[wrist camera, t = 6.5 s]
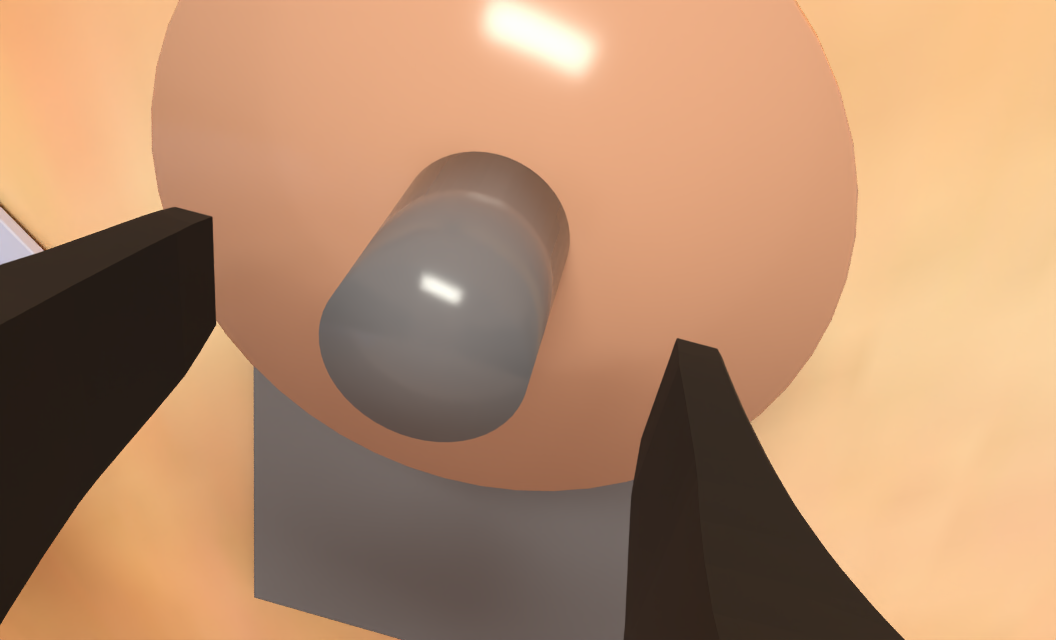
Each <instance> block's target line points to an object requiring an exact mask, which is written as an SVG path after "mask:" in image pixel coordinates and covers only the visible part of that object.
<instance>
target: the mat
mask: <svg viewBox="0 0 1056 640" xmlns="http://www.w3.org/2000/svg"><path fill="white" fill-rule="evenodd" d="M633 482H634V480H631V481H627V482H622V483H617V484H611V485H606V486H600V487H595V488H588V489H575V490H562V491H526V490H510V489H502V488H494V487H485V486H479V485H474V484H469V483H465V482H460V481H455V480H451V479H446V478H442V477H439V476H436V475H433V474H430V473H427V472H423V471H420V470H417V469H414V468H411V467H408V466H405V465H403V464H401V463H398V462H396V461H393V460H391V459H389V458H386V457H384V456H382V455H379V454H377V453H374V452H372V451H370V450H369V449H367V448H365V447H363V446H361V445H359V444H357V443H355V442H354V441H352V440H350V439H348V438H346V437H344V436H342V435H340V434H339V433H337V432H336V431H334V430H333V429H331V428H330V427H328V426H327V425H325V424H324V423H322V422H321V421H319V420H317V419H316V418H314V417H313V416H311V415H310V414H308V413H307V412H306V411H305V410H303V409H302V408H301V407H300V406H298V405H297V404H296V403H295V402H293V401H292V400H291V399H290V398H288V397H287V396H286V395H285V394H283V393H282V392H281V391H279V390H278V389H277V388H276V387H275V386H274V385H273V384H272V383H271V382H270V381H269V380H268V379H267V378H266V377H265V376H264V375H263V374H262V373H261V372H260V371H259V370H258V369H257V368H255V367H254V597H255V598H258V599H262V600H265V601H269V602H272V603H276V604H279V605H283V606H286V607H290V608H293V609H297V610H300V611H304V612H307V613H311V614H314V615H318V616H321V617H325V618H328V619H332V620H335V621H339V622H342V623H346V624H349V625H353V626H356V627H360V628H363V629H367V630H370V631H374V632H377V633H381V634H384V635H388V636H391V637H395V638H398V639H401V640H624V630H625V612H626V590H627V568H628V546H629V525H630V506H631V493H632V487H633Z"/></svg>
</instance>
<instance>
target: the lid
mask: <svg viewBox="0 0 1056 640" xmlns="http://www.w3.org/2000/svg"><path fill="white" fill-rule="evenodd" d="M151 113H152V152H153V159H154V166H155V172H156V179H157V185H158V192H159V195H160V199H161V202H162V206H163V209H168V208H171V207H178V208H182V209H186V210H189V211H193V212H197V213H201V214H205V215H209V216H212V217H213V244H214V275H215V305H216V320H217V322H218V323H219V325H220V326H221V327H222V329H223V330H224V332H225V333H226V334H227V336H228V337H229V338H230V339H231V340H232V341H233V343H234V344H235V345H236V346H237V347H238V349H239V350H240V351H241V352H242V353H243V354H244V356H245V357H246V358H247V359H248V360H249V361H250V363H251V364H252V365H253V366H254V367H255V368H257V369H258V370H259V371H260V372H261V373H262V374H263V375H264V376H265V377H266V378H267V379H268V380H269V381H270V382H271V383H272V384H273V385H274V386H275V387H276V388H277V389H278V390H279V391H281V392H282V393H283V394H285V395H286V396H287V397H288V398H290V399H291V400H292V401H293V402H295V403H296V404H297V405H298V406H300V407H301V408H302V409H303V410H305V411H306V412H307V413H308V414H310V415H311V416H313V417H314V418H316V419H317V420H319V421H321V422H322V423H324V424H325V425H327V426H328V427H330V428H331V429H333V430H334V431H336V432H337V433H339V434H340V435H342V436H344V437H346V438H348V439H350V440H352V441H354V442H355V443H357V444H359V445H361V446H363V447H365V448H367V449H369V450H370V451H372V452H374V453H377V454H379V455H382V456H384V457H386V458H389V459H391V460H393V461H396V462H398V463H401V464H403V465H405V466H408V467H411V468H414V469H417V470H420V471H423V472H427V473H430V474H433V475H436V476H439V477H442V478H446V479H451V480H455V481H460V482H465V483H469V484H474V485H479V486H485V487H494V488H502V489H510V490H526V491H562V490H575V489H588V488H595V487H600V486H606V485H611V484H617V483H622V482H627V481H631V480H634V476H635V470H636V464H637V458H638V453H639V447H640V442H641V437H642V434H643V432H644V429H645V426H646V423H647V420H648V418H649V415H650V412H651V409H652V406H653V403H654V401H655V398H656V395H657V392H658V389H659V387H660V384H661V381H662V378H663V375H664V372H665V370H666V367H667V364H668V361H669V358H670V356H671V353H672V350H673V347H674V344H675V341H676V339H677V338H679V339H683V340H687V341H690V342H694V343H698V344H702V345H706V346H709V347H713V348H717V349H718V351H719V352H720V354H721V356H722V358H723V361H724V363H725V366H726V368H727V371H728V373H729V376H730V378H731V381H732V383H733V385H734V388H735V390H736V393H737V395H738V397H739V399H740V402H741V404H742V406H743V409H744V411H745V413H746V415H747V417H748V419H749V422H751V421H752V420H753V419H755V418H756V417H757V416H759V415H760V414H761V413H762V412H763V411H764V410H765V409H766V408H767V407H768V406H769V405H770V404H771V403H772V402H773V401H774V400H775V399H776V398H777V397H778V396H779V395H780V394H781V393H782V392H783V391H784V390H785V389H786V388H787V387H788V386H789V385H790V383H791V382H792V381H793V379H794V378H795V377H796V375H797V374H798V373H799V371H800V370H801V369H802V368H803V366H804V365H805V364H806V362H807V361H808V360H809V358H810V357H811V356H812V354H813V352H814V350H815V349H816V347H817V345H818V343H819V341H820V340H821V338H822V336H823V334H824V332H825V331H826V329H827V327H828V325H829V323H830V322H831V320H832V317H833V315H834V312H835V309H836V307H837V304H838V301H839V299H840V296H841V293H842V291H843V288H844V285H845V283H846V280H847V275H848V270H849V266H850V261H851V256H852V251H853V247H854V242H855V237H856V219H857V201H858V185H857V175H856V165H855V155H854V145H853V140H852V136H851V132H850V128H849V124H848V120H847V117H846V113H845V109H844V105H843V101H842V97H841V93H840V90H839V87H838V84H837V81H836V79H835V76H834V74H833V72H832V69H831V67H830V65H829V62H828V60H827V57H826V55H825V53H824V50H823V48H822V46H821V43H820V41H819V39H818V36H817V34H816V32H815V31H814V29H813V27H812V26H811V24H810V23H809V21H808V19H807V18H806V16H805V14H804V13H803V11H802V10H801V8H800V6H799V5H798V3H797V1H796V0H179V2H178V4H177V6H176V9H175V11H174V13H173V15H172V17H171V20H170V22H169V24H168V27H167V31H166V34H165V38H164V42H163V45H162V49H161V52H160V56H159V60H158V63H157V67H156V75H155V84H154V92H153V100H152V108H151Z"/></svg>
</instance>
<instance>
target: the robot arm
mask: <svg viewBox="0 0 1056 640" xmlns="http://www.w3.org/2000/svg"><path fill="white" fill-rule="evenodd" d="M215 326H216V305H215V275H214V244H213V217H212V216H209V215H205V214H201V213H197V212H193V211H189V210H186V209H182V208H178V207H171V208H168V209H164V210H160V211H157V212H154V213H150V214H147V215H144V216H141V217H139V218H136V219H133V220H130V221H127V222H124V223H121V224H119V225H116V226H113V227H110V228H107V229H105V230H102V231H99V232H96V233H93V234H91V235H88V236H85V237H82V238H79V239H77V240H74V241H71V242H68V243H65V244H62V245H60V246H57V247H54V248H51V249H48V250H45V251H44V250H43V249H42V248H41V247H40V246H39V245H38V244H37V243H36V242H35V241H34V240H33V239H32V238H31V237H30V236H29V235H28V234H27V233H26V232H25V231H24V230H23V229H22V228H21V227H20V226H19V225H18V224H17V223H16V222H15V221H14V220H13V219H12V218H11V217H10V216H9V215H8V214H7V213H6V212H5V211H4V210H3V209H2V208H1V207H0V625H1V623H2V621H3V619H4V618H5V616H6V614H7V613H8V611H9V609H10V608H11V606H12V605H13V603H14V602H15V600H16V598H17V597H18V595H19V594H20V592H21V590H22V589H23V587H24V586H25V584H26V583H27V581H28V579H29V578H30V576H31V575H32V573H33V571H34V570H35V568H36V567H37V565H38V564H39V562H40V560H41V559H42V557H43V556H44V554H45V553H46V551H47V550H48V548H49V547H50V545H51V544H52V542H53V541H54V539H55V538H56V536H57V535H58V533H59V532H60V530H61V529H62V527H63V526H64V524H65V523H66V522H67V520H68V519H69V517H70V516H71V514H72V513H73V511H74V510H75V508H76V507H77V505H78V504H79V502H80V501H81V500H82V498H83V497H84V496H85V495H86V493H87V492H88V491H89V489H90V488H91V487H92V486H93V484H94V483H95V482H96V480H97V479H98V478H99V477H100V476H101V474H102V473H103V472H104V471H105V470H106V469H107V467H108V466H109V465H110V464H111V463H112V461H113V460H114V459H115V458H116V457H117V456H118V454H119V453H120V452H121V451H122V450H123V449H124V447H125V446H126V445H127V444H128V443H129V442H130V440H131V439H132V438H133V437H134V436H135V435H136V433H137V432H138V431H139V430H140V429H141V427H142V426H143V425H144V424H145V423H146V422H147V420H148V419H149V418H150V417H151V416H152V415H153V413H154V412H155V411H156V410H157V409H158V407H159V406H160V405H161V404H162V403H163V401H164V400H165V399H166V398H167V397H168V395H169V394H170V393H171V392H172V391H173V389H174V388H175V387H176V386H177V385H178V383H179V382H180V381H181V380H182V378H183V377H184V376H185V375H186V373H187V371H188V370H189V368H190V367H191V365H192V364H193V362H194V361H195V359H196V357H197V356H198V354H199V353H200V351H201V349H202V348H203V346H204V344H205V343H206V341H207V339H208V338H209V336H210V334H211V333H212V331H213V329H214V327H215ZM624 640H905V639H904V638H903V637H902V636H901V635H900V634H899V633H898V632H897V631H896V630H895V629H894V628H893V627H892V626H891V625H890V624H889V623H888V622H887V621H886V620H885V619H884V618H883V616H882V615H881V614H880V613H879V612H878V611H877V610H876V609H875V608H874V607H873V606H872V604H871V603H870V602H869V601H868V600H867V599H866V597H865V596H864V595H863V594H862V593H861V592H860V590H859V589H858V588H857V587H856V586H855V584H854V583H853V582H852V581H851V580H850V579H849V577H848V576H847V575H846V574H845V573H844V572H843V570H842V569H841V568H840V567H839V565H838V564H837V563H836V561H835V560H834V559H833V558H832V556H831V555H830V554H829V553H828V551H827V550H826V549H825V547H824V546H823V544H822V543H821V542H820V540H819V539H818V537H817V536H816V535H815V533H814V532H813V530H812V529H811V528H810V526H809V525H808V523H807V522H806V521H805V519H804V518H803V516H802V515H801V513H800V512H799V510H798V509H797V507H796V506H795V504H794V503H793V501H792V499H791V498H790V496H789V494H788V493H787V491H786V489H785V488H784V486H783V484H782V482H781V481H780V479H779V477H778V476H777V474H776V472H775V470H774V468H773V467H772V465H771V463H770V461H769V459H768V457H767V456H766V454H765V452H764V450H763V448H762V446H761V444H760V442H759V440H758V438H757V436H756V434H755V432H754V430H753V428H752V426H751V424H750V422H749V419H748V417H747V415H746V413H745V411H744V409H743V406H742V404H741V402H740V399H739V397H738V395H737V393H736V390H735V388H734V385H733V383H732V381H731V378H730V376H729V373H728V371H727V368H726V366H725V363H724V361H723V358H722V356H721V354H720V352H719V351H718V349H717V348H713V347H709V346H706V345H702V344H698V343H694V342H690V341H687V340H683V339H679V338H677V339H676V341H675V344H674V347H673V350H672V353H671V356H670V358H669V361H668V364H667V367H666V370H665V372H664V375H663V378H662V381H661V384H660V387H659V389H658V392H657V395H656V398H655V401H654V403H653V406H652V409H651V412H650V415H649V418H648V420H647V423H646V426H645V429H644V432H643V434H642V437H641V442H640V447H639V453H638V458H637V464H636V470H635V476H634V482H633V487H632V493H631V506H630V525H629V546H628V568H627V590H626V612H625V630H624Z"/></svg>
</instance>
